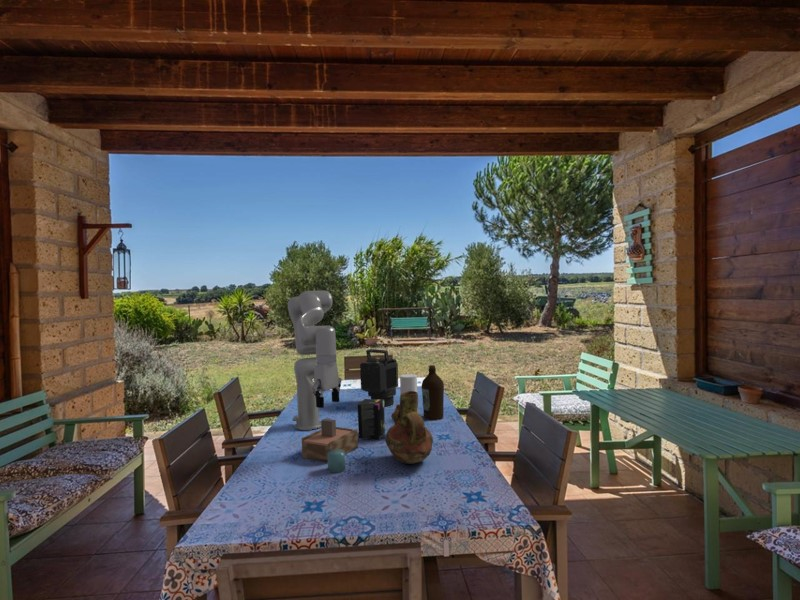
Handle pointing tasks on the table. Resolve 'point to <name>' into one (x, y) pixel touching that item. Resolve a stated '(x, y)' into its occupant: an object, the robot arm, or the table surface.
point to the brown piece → (326, 433)
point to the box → (330, 445)
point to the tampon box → (371, 419)
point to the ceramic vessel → (408, 431)
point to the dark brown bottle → (433, 395)
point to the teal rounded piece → (336, 461)
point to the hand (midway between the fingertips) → (328, 404)
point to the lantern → (379, 377)
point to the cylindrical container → (408, 383)
